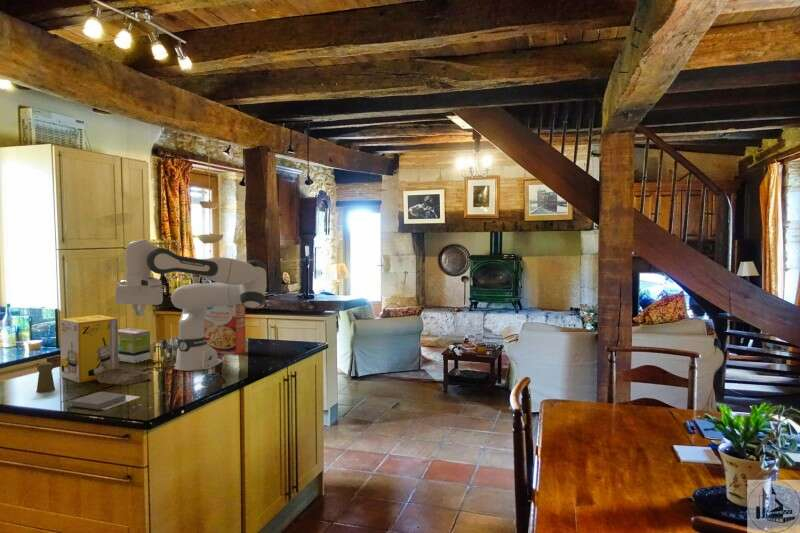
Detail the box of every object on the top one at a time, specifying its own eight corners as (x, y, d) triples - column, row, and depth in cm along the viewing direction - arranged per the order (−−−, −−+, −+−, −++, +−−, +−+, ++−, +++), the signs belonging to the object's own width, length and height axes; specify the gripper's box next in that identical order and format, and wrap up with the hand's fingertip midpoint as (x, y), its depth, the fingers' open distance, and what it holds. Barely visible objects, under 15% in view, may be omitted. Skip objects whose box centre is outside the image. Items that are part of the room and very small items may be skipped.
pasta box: (199, 351, 279) (199, 295, 278) (209, 348, 287) (209, 294, 286) (235, 355, 272) (235, 297, 271) (245, 352, 280) (245, 295, 278)
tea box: (111, 360, 257) (110, 330, 256) (128, 356, 266) (128, 327, 266) (133, 363, 251) (133, 332, 251) (151, 359, 261) (150, 329, 260)
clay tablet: (87, 383, 217) (124, 387, 211) (87, 371, 217) (124, 375, 211) (115, 376, 231) (151, 380, 224) (115, 365, 230) (151, 368, 224)
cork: (42, 388, 208) (41, 361, 207) (58, 388, 209) (57, 360, 208) (32, 393, 202) (32, 364, 201) (49, 392, 202) (48, 364, 202)
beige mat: (107, 394, 201) (106, 392, 201) (140, 398, 197) (140, 396, 197) (69, 406, 186) (69, 404, 186) (105, 411, 181) (105, 409, 181)
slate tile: (99, 391, 196) (71, 400, 184) (125, 394, 192) (98, 404, 181) (99, 396, 196) (71, 406, 185) (125, 400, 192) (98, 410, 181)
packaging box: (118, 374, 230) (118, 318, 229) (79, 382, 217) (78, 322, 216) (100, 369, 239) (99, 314, 238) (61, 376, 226) (59, 319, 225)
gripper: (110, 281, 209) (111, 315, 210) (153, 282, 204) (154, 317, 204) (123, 279, 215) (123, 313, 216) (165, 280, 210) (165, 315, 211)
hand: (139, 315), depth 210 cm, fingers closed
